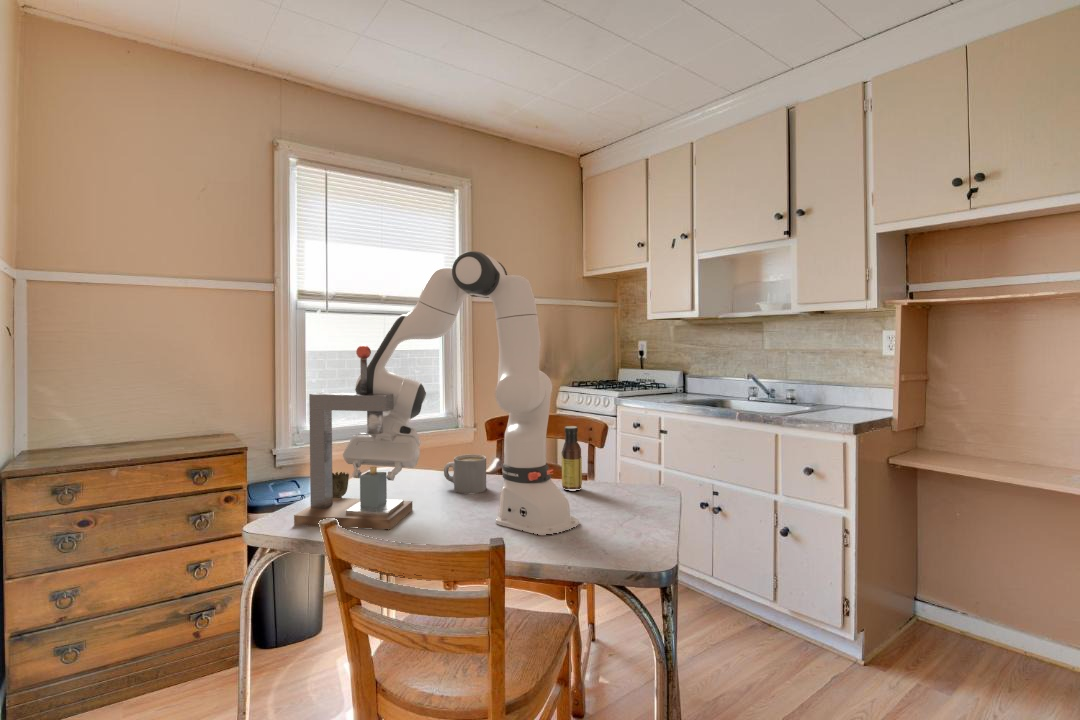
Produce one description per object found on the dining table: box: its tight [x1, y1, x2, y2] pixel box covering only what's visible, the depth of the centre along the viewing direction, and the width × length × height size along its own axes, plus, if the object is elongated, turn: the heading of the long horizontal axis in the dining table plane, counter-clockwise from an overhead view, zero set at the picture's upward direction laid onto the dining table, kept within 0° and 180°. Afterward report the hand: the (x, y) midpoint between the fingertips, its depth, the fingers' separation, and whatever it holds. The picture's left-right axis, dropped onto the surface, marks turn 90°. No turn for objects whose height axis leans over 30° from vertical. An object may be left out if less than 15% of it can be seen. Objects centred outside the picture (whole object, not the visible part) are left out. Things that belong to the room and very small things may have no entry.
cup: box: [332, 471, 350, 498], centre depth 160 cm, size 8×7×8 cm
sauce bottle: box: [561, 425, 583, 489], centre depth 174 cm, size 7×6×20 cm
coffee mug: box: [443, 453, 487, 495], centre depth 174 cm, size 13×10×10 cm
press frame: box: [308, 344, 405, 516], centre depth 145 cm, size 22×11×43 cm, turn 83°
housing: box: [359, 466, 388, 508], centre depth 146 cm, size 5×5×10 cm
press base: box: [293, 497, 413, 531], centre depth 146 cm, size 25×16×2 cm, turn 83°
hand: (372, 478), depth 145 cm, fingers open, 8 cm apart
